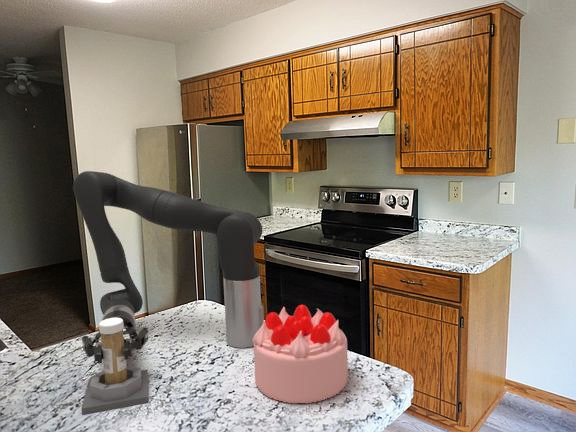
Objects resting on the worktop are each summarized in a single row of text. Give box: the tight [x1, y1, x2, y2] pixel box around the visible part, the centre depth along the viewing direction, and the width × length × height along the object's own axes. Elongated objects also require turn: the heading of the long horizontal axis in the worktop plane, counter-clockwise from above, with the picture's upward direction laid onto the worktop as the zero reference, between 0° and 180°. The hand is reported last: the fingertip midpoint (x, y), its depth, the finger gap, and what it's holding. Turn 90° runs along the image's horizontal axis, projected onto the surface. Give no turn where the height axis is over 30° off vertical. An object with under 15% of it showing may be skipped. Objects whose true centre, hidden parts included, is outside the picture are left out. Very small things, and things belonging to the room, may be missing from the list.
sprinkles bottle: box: [98, 318, 128, 385], centre depth 91 cm, size 5×5×14 cm
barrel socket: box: [80, 364, 149, 415], centre depth 92 cm, size 12×12×4 cm
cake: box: [252, 304, 349, 404], centre depth 95 cm, size 20×20×14 cm
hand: (113, 356), depth 88 cm, fingers closed on sprinkles bottle, 4 cm apart
